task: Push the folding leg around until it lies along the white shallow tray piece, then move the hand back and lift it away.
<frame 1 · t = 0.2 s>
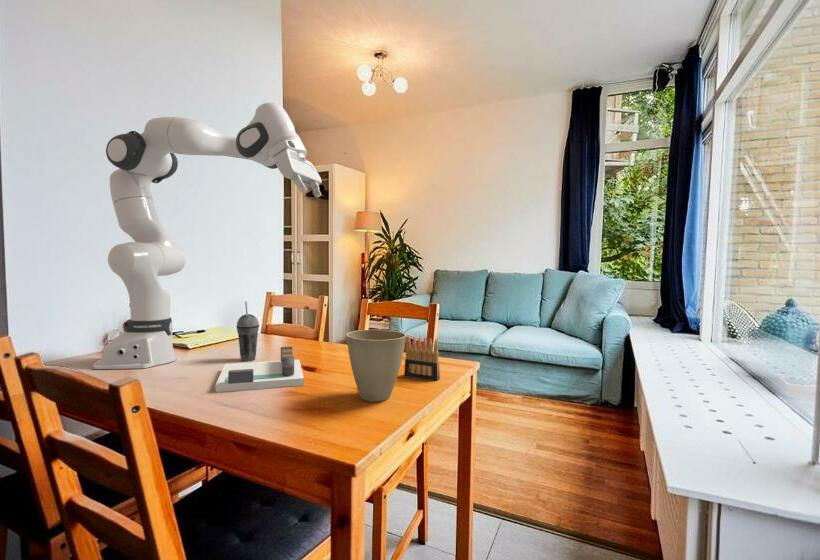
hand: (311, 194, 125), 54 cm above the table, tool tilted 30°, fingers open, 8 cm apart
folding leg: (287, 359, 123), point 5 cm above the table, hinge at 0.0°
beverage cup: (248, 360, 141), on the table
white shallow tray piece: (262, 377, 121), on the table
plant pot: (376, 397, 105), on the table
ammunition clip: (421, 378, 123), on the table
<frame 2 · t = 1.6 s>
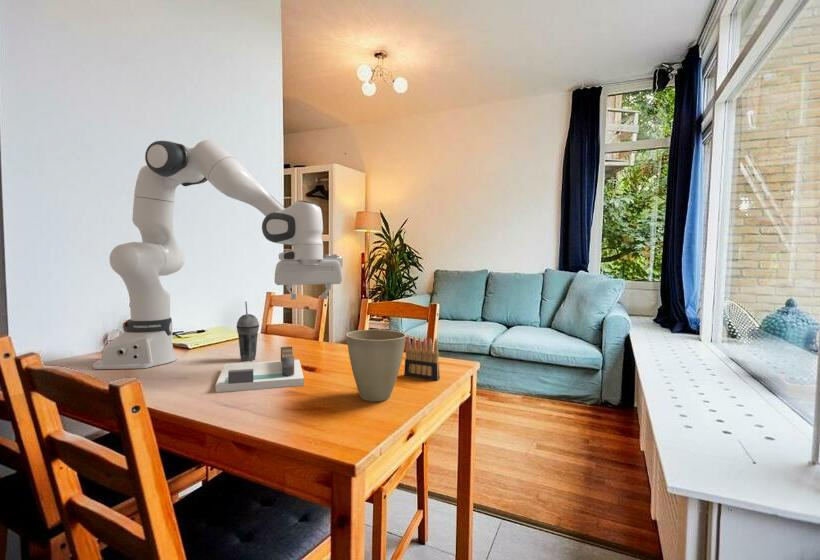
hand: (309, 299, 129), 22 cm above the table, tool pointing down, fingers open, 8 cm apart
nothing on the table moved.
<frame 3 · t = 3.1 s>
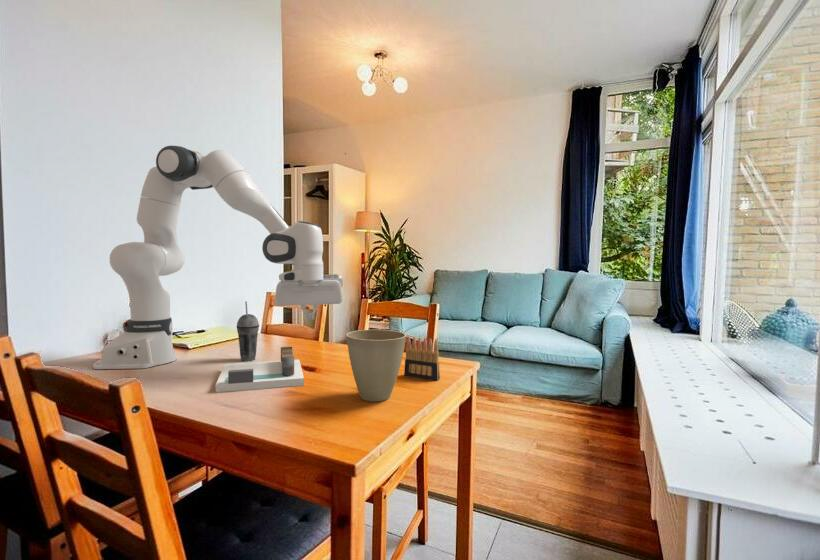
hand: (309, 319, 129), 16 cm above the table, tool pointing down, fingers closed
nothing on the table moved.
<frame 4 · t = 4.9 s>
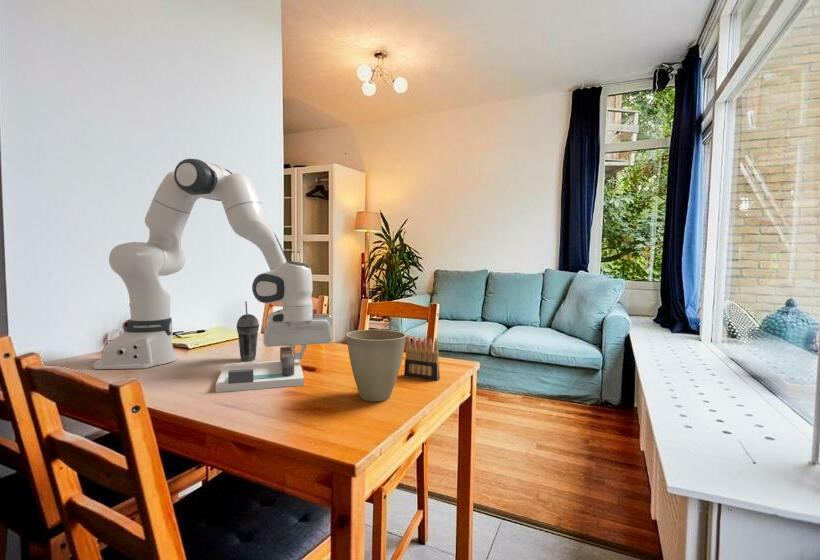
hand: (298, 359, 129), 4 cm above the table, tool pointing down, fingers closed
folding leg: (287, 359, 123), point 5 cm above the table, hinge at 0.5°, touching gripper
everything else where it was.
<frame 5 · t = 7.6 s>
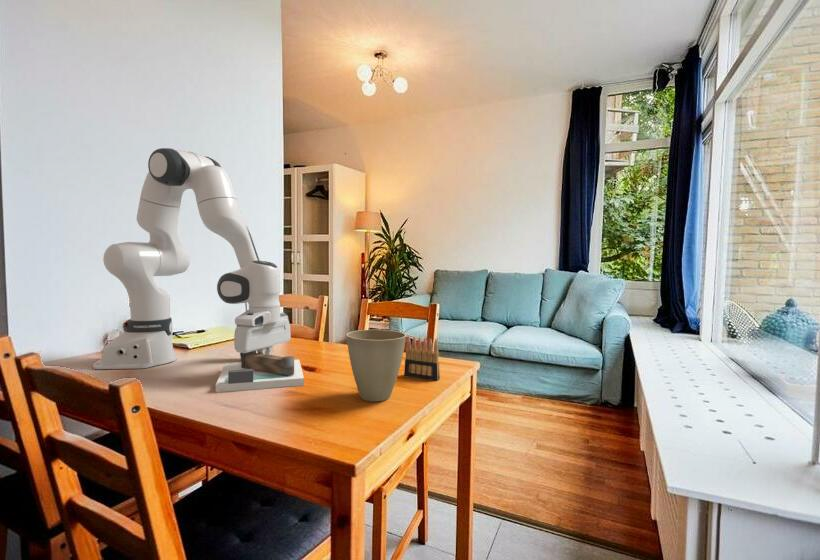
hand: (264, 361, 125), 4 cm above the table, tool pointing down, fingers closed
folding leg: (268, 362, 120), point 5 cm above the table, hinge at 45.3°, touching gripper
everything else where it was.
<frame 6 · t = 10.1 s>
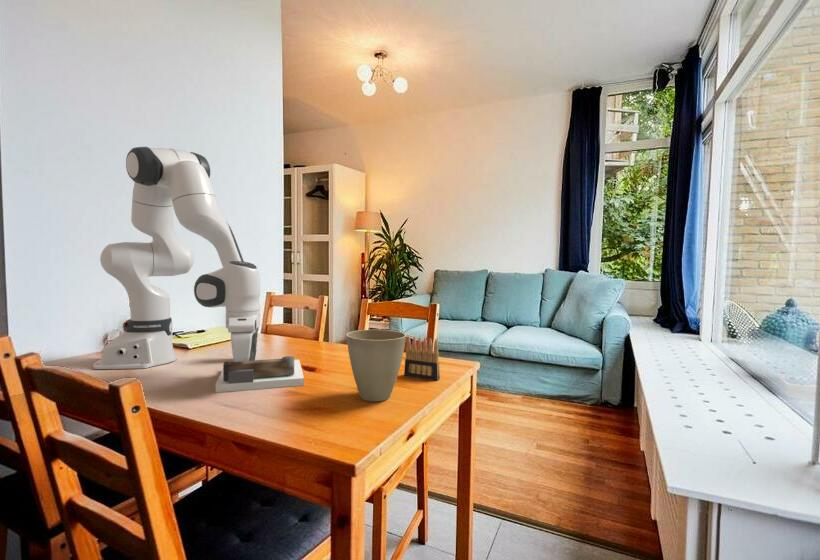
hand: (243, 370, 116), 4 cm above the table, tool pointing down, fingers closed
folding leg: (259, 367, 114), point 5 cm above the table, hinge at 91.9°, touching gripper, white shallow tray piece
everything else where it was.
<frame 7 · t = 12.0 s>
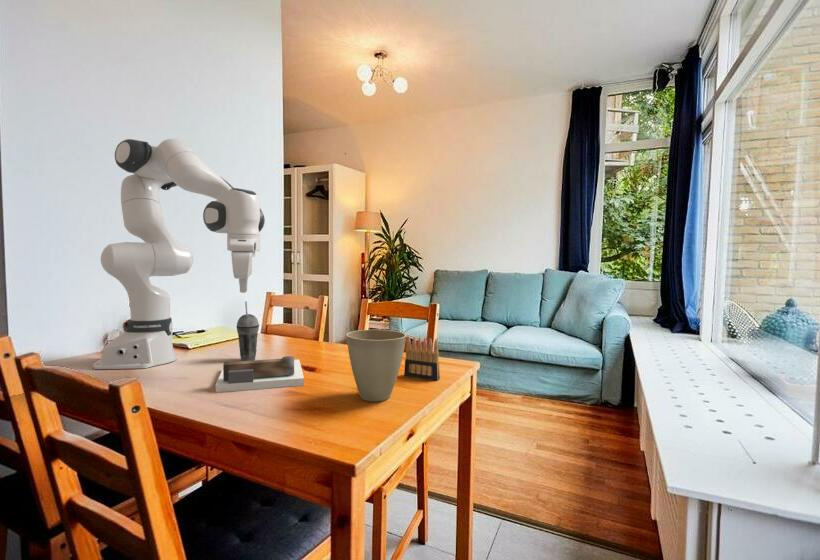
hand: (243, 292, 123), 24 cm above the table, tool pointing down, fingers closed
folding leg: (259, 367, 114), point 5 cm above the table, hinge at 91.9°
everything else where it was.
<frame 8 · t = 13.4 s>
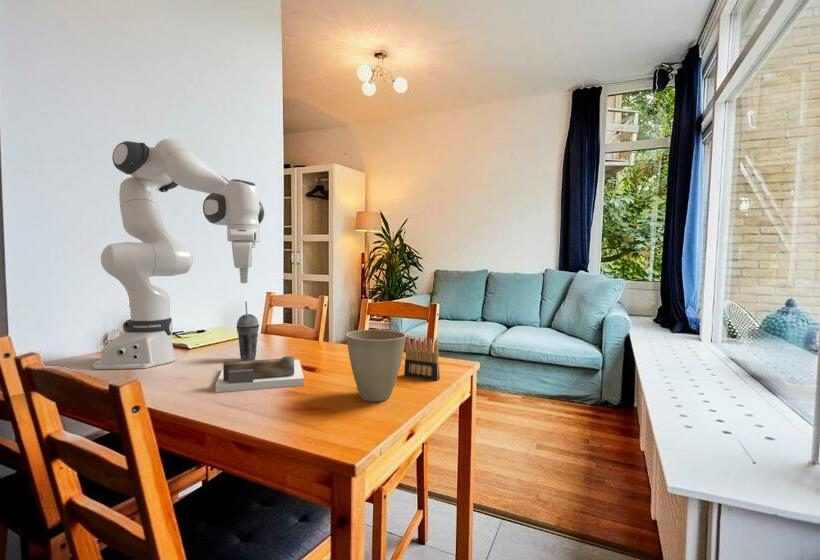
hand: (244, 283, 123), 27 cm above the table, tool pointing down, fingers closed
nothing on the table moved.
at the end: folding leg at +92° (first picture: +0°) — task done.
